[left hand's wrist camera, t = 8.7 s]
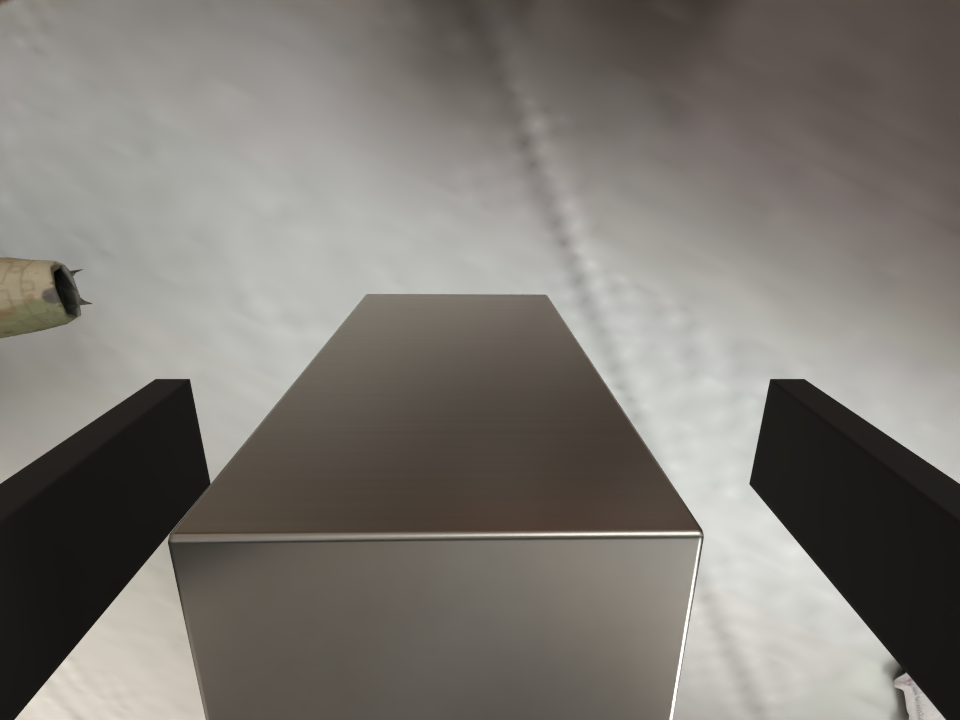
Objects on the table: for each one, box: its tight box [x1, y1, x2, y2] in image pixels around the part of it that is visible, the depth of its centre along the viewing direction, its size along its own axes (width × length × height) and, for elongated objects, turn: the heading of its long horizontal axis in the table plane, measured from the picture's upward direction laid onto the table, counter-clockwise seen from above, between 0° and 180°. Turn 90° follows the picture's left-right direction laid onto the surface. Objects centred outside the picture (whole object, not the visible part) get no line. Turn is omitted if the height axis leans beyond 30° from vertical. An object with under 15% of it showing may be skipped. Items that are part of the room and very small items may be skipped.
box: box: [168, 294, 704, 720], centre depth 16 cm, size 20×6×13 cm, turn 0°
